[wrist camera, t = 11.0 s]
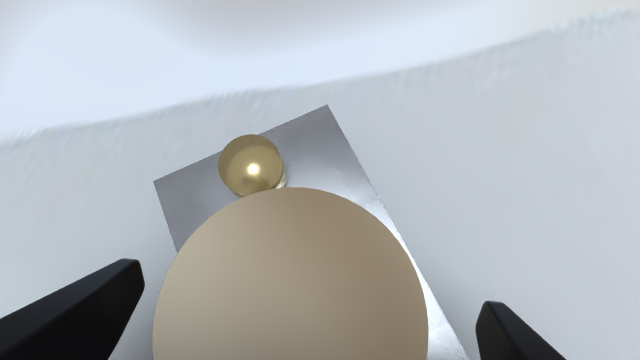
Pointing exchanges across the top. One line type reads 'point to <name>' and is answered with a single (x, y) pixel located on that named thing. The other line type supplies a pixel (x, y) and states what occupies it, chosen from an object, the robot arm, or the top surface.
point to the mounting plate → (288, 171)
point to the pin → (291, 285)
